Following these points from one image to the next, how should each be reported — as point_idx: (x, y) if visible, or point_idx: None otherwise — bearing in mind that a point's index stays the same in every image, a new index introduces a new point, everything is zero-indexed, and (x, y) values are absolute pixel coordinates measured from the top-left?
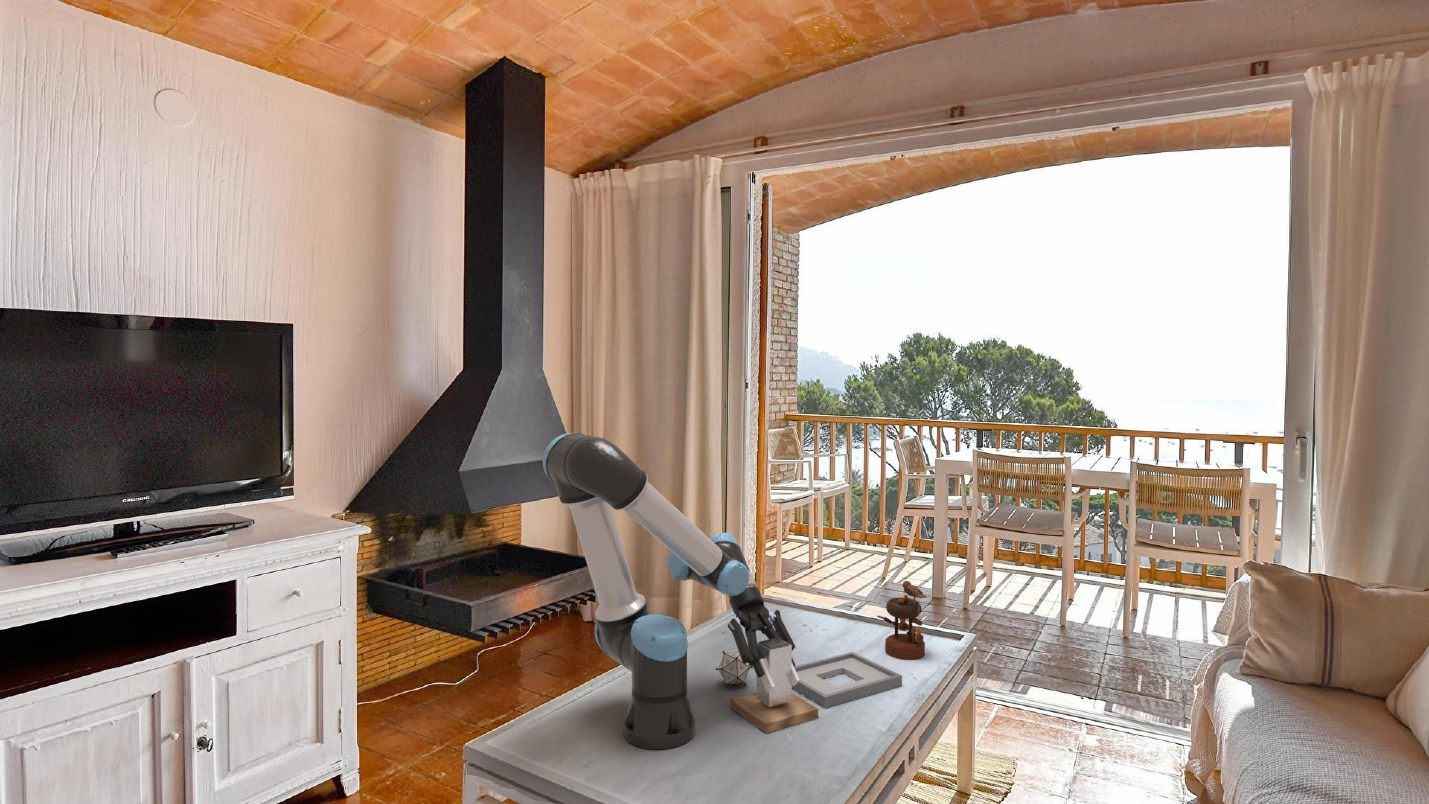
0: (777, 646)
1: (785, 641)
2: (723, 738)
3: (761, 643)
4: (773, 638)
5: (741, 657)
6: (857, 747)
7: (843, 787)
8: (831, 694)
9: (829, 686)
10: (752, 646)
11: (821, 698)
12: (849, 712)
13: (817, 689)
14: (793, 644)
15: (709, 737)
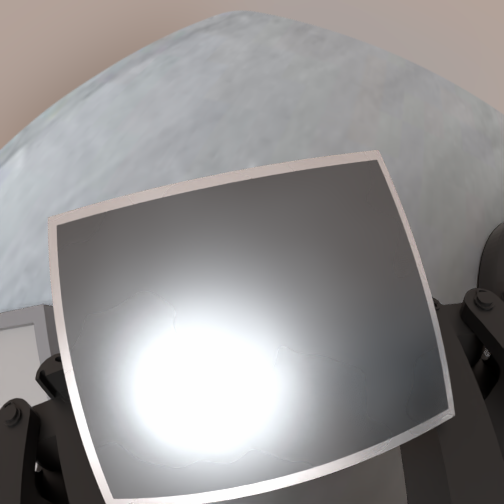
0: (259, 182)
1: (67, 308)
2: (425, 224)
3: (435, 358)
4: (199, 491)
5: (489, 367)
6: (119, 94)
7: (233, 15)
8: (18, 315)
9: (1, 400)
10: (474, 394)
11: (51, 324)
12: (21, 257)
13: (36, 401)
14: (1, 427)
15: (453, 241)
